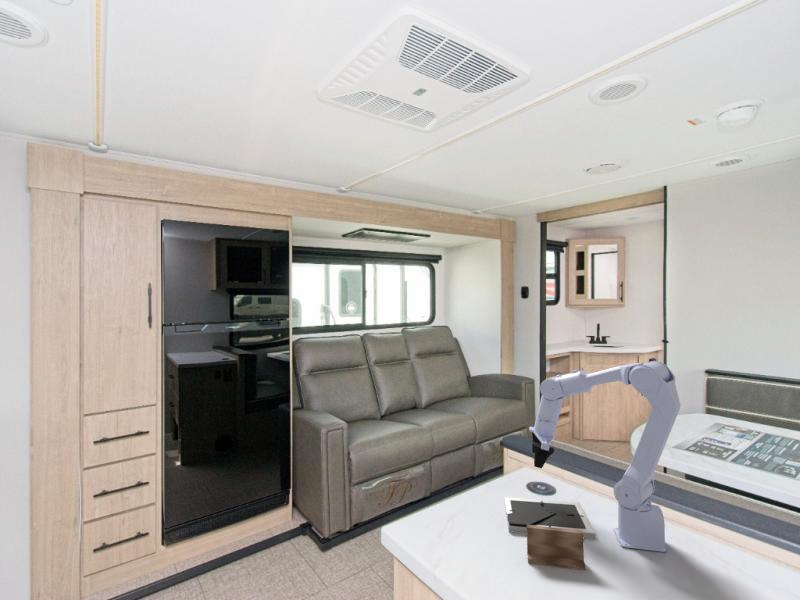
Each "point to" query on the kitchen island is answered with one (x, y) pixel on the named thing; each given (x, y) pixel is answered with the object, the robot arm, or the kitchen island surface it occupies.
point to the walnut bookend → (555, 547)
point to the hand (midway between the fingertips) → (536, 459)
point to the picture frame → (546, 515)
